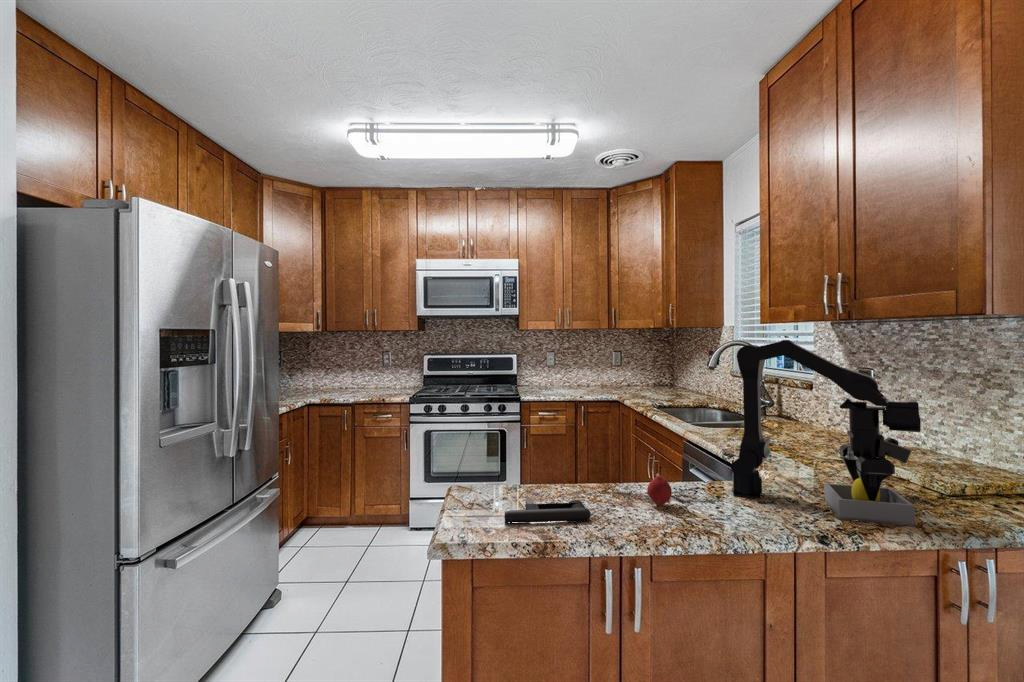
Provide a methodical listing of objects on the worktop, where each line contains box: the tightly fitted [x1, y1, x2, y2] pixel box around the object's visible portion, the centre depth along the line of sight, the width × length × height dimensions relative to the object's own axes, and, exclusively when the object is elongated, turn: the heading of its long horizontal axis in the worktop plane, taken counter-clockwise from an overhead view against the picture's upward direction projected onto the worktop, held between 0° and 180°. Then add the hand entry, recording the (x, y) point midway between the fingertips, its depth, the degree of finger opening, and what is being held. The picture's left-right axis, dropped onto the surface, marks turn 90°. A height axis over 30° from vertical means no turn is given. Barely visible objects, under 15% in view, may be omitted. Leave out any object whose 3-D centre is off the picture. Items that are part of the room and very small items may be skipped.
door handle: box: [504, 498, 592, 523], centre depth 119 cm, size 3×20×16 cm
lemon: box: [851, 478, 880, 502], centre depth 116 cm, size 6×6×8 cm
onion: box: [646, 473, 673, 507], centre depth 123 cm, size 6×6×8 cm
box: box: [823, 482, 916, 527], centre depth 116 cm, size 14×14×4 cm
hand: (865, 494), depth 116 cm, fingers open, 9 cm apart
